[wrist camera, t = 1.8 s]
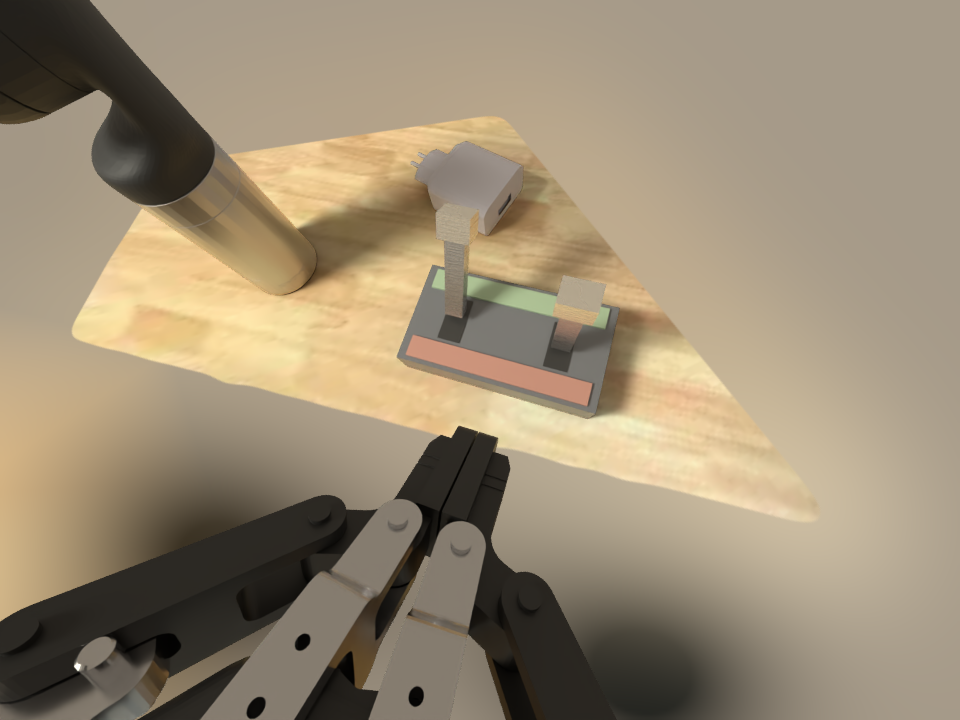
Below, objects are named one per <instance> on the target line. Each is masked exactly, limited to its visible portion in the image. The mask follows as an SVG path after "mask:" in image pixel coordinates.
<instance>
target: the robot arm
mask: <svg viewBox="0 0 960 720" xmlns="http://www.w3.org/2000/svg"><path fill="white" fill-rule="evenodd" d="M96 90H100V91H102V92H103V93H105V94H106V95H107V96H108V97H110V98H111V99H112V106H111V109H110V111H109V113H108V116H107V117H106V119H105V120H104V122H103V124H102V125H101V127H100V129H99V131H98V132H97V134H96V137H95V139H94V142H93V146H92V162H93V166H94V168H95V170H96V172H97V174H98V175H99V176H100V177H101V178H102V179H103V180H104V181H105V182H106V183H107V184H108V185H110V186H111V187H112V188H114V189H115V190H117V191H118V192H119V193H121V194H122V195H124V196H125V197H127V198H128V199H130V200H131V201H133V202H134V203H136V204H137V205H138V206H140V207H141V208H143V209H144V210H146V211H147V212H149V213H150V214H152V215H153V216H154V217H156V218H157V219H159V220H160V221H162V222H164V223H165V224H166V225H168V226H169V227H171V228H172V229H174V230H175V231H177V232H178V233H180V234H181V235H183V236H184V237H185V238H187V239H188V240H190V241H191V242H193V243H194V244H196V245H197V246H199V247H200V248H201V249H203V250H204V251H206V252H207V253H209V254H210V255H212V256H213V257H215V258H216V259H218V260H219V261H220V262H222V263H223V264H225V265H226V266H228V267H229V268H231V269H232V270H234V271H235V272H236V273H238V274H239V275H241V276H242V277H244V278H245V279H247V280H248V281H250V282H251V283H252V284H254V285H255V286H257V287H258V288H260V289H261V290H263V291H264V292H266V293H269V294H273V295H284V294H288V293H291V292H293V291H295V290H297V289H299V288H300V287H302V286H303V285H304V284H305V283H306V282H307V281H308V280H309V279H310V277H311V276H312V274H313V272H314V270H315V267H316V262H317V256H316V252H315V250H314V248H313V246H312V245H311V244H310V243H309V242H308V241H307V239H306V238H305V237H304V236H303V235H302V234H301V233H300V232H299V231H298V230H297V229H296V227H295V226H294V225H293V224H292V223H291V222H290V221H289V220H288V219H287V218H286V217H285V215H284V214H283V213H282V212H281V211H280V210H279V209H278V208H277V207H276V206H275V205H274V204H273V203H272V202H271V200H270V199H269V198H268V197H267V196H266V195H265V194H264V193H263V192H262V191H261V190H260V189H259V188H258V186H257V185H256V184H255V183H254V182H253V181H252V180H251V179H250V178H249V177H248V176H247V175H246V174H245V173H244V171H243V170H242V169H241V168H240V167H239V166H238V165H237V164H236V163H235V162H234V161H233V160H232V159H231V158H230V157H229V156H228V155H227V153H226V152H225V151H224V150H223V149H222V148H221V147H220V146H219V145H218V144H217V143H216V142H215V141H214V140H213V138H212V137H211V136H210V135H209V134H208V133H207V132H206V131H205V130H204V129H203V128H202V127H201V126H200V125H199V124H198V123H197V121H196V120H195V119H194V118H193V117H192V116H191V115H190V114H189V113H188V111H187V110H186V109H185V108H184V107H183V106H182V105H181V104H180V102H179V101H178V100H177V99H176V98H175V97H174V96H173V95H172V93H171V92H170V91H169V90H168V89H167V88H166V87H165V86H164V85H163V84H162V83H161V82H160V80H159V79H158V78H157V77H156V76H155V75H154V74H153V73H152V72H151V71H150V70H149V68H148V67H147V66H146V65H145V64H144V63H143V62H142V61H141V59H140V58H139V57H138V56H137V55H136V54H135V53H134V52H133V50H132V49H131V48H130V47H129V46H128V45H127V43H126V42H125V41H124V40H123V39H122V38H121V37H120V35H119V34H118V33H117V32H116V31H115V30H114V28H113V27H112V26H111V25H110V24H109V23H108V22H107V20H106V19H105V18H104V17H103V16H102V15H101V13H100V12H99V11H98V10H97V9H96V7H95V6H94V5H93V4H92V3H91V2H90V0H0V123H1V124H20V123H26V122H30V121H34V120H37V119H40V118H43V117H45V116H47V115H49V114H51V113H52V112H54V111H56V110H59V109H60V108H62V107H64V106H66V105H68V104H70V103H72V102H74V101H76V100H78V99H80V98H82V97H84V96H86V95H88V94H90V93H92V92H93V91H96ZM497 443H498V438H497V437H494V436H490V435H487V434H484V433H481V432H479V433H478V431H474V430H471V429H468V428H465V427H462V426H458V428H457V429H456V431H455V433H454V435H453V436H452V438H449V437H446V436H443V435H440V436H439V437H437V438H436V439H434V440H433V441H432V442H430V443H429V445H428V447H427V448H426V450H425V452H424V453H423V455H422V456H421V458H420V459H419V461H418V463H417V464H416V466H415V467H414V469H413V471H412V472H411V474H410V475H409V477H408V478H407V480H406V482H405V483H404V485H403V487H402V488H401V490H400V491H399V493H398V494H397V496H396V497H395V499H394V500H391V501H389V502H387V503H385V504H383V505H382V506H381V507H380V508H379V509H376V510H346V507H345V504H344V503H343V502H342V500H341V499H339V498H337V497H335V496H331V495H321V496H318V497H314V498H311V499H309V500H306V501H304V502H301V503H298V504H295V505H293V506H290V507H287V508H285V509H282V510H280V511H277V512H274V513H272V514H269V515H267V516H264V517H261V518H259V519H256V520H253V521H251V522H248V523H245V524H243V525H240V526H238V527H235V528H232V529H230V530H227V531H225V532H222V533H219V534H217V535H214V536H211V537H209V538H206V539H203V540H201V541H198V542H196V543H193V544H190V545H188V546H185V547H183V548H180V549H178V550H175V551H172V552H169V553H167V554H164V555H162V556H159V557H157V558H154V559H151V560H148V561H146V562H143V563H141V564H138V565H135V566H133V567H130V568H128V569H125V570H122V571H119V572H117V573H115V574H112V575H109V576H106V577H104V578H101V579H99V580H96V581H93V582H91V583H88V584H85V585H83V586H80V587H77V588H75V589H72V590H70V591H67V592H65V593H62V594H59V595H57V596H54V597H51V598H49V599H46V600H43V601H41V602H38V603H36V604H33V605H30V606H28V607H26V608H24V609H21V610H19V611H17V612H15V613H13V614H12V615H10V616H8V617H7V618H5V619H4V620H2V621H1V622H0V720H135V719H136V718H137V717H139V716H142V715H143V714H145V713H146V712H147V711H148V710H149V709H150V708H151V707H152V706H153V704H154V703H155V701H156V699H157V697H158V696H159V694H160V693H161V691H162V690H163V688H164V686H165V684H166V681H167V679H168V678H170V677H171V676H173V675H175V674H177V673H179V672H181V671H183V670H185V669H186V668H188V667H190V666H192V665H194V664H196V663H198V662H199V661H201V660H203V659H205V658H207V657H209V656H211V655H213V654H214V653H216V652H218V651H220V650H222V649H224V648H226V647H228V646H229V645H231V644H233V643H235V642H237V641H239V640H241V639H243V638H245V637H246V636H248V635H250V634H252V633H254V632H256V631H258V630H259V629H261V628H263V627H265V626H267V625H269V624H271V623H273V622H274V621H276V620H278V619H280V618H281V619H280V620H279V621H278V623H277V624H276V625H275V626H274V628H273V629H272V630H271V631H270V633H269V634H268V635H267V636H266V638H265V639H264V640H263V641H262V643H261V644H260V645H259V646H258V648H257V649H256V650H255V652H254V653H253V654H252V655H251V656H249V657H246V658H243V659H241V660H239V661H237V662H235V663H233V664H231V665H229V666H227V667H226V668H224V669H222V670H220V671H219V672H217V673H215V674H214V675H212V676H210V677H209V678H207V679H205V680H203V681H202V682H200V683H198V684H197V685H195V686H193V687H192V688H190V689H188V690H187V691H185V692H183V693H182V694H180V695H178V696H177V697H175V698H173V699H172V700H170V701H168V702H166V703H165V704H163V705H162V706H160V707H158V708H156V709H155V710H153V711H151V712H150V713H148V714H146V715H145V716H143V717H141V718H140V719H138V720H450V716H451V711H452V706H453V702H454V697H455V692H456V688H457V683H458V679H459V674H460V669H461V664H462V660H463V655H464V650H465V646H466V641H467V636H468V634H469V635H470V636H471V637H472V638H473V639H474V640H475V641H476V642H477V643H478V644H479V645H480V646H481V647H482V648H483V649H484V650H485V654H486V658H487V662H488V665H489V668H490V671H491V674H492V677H493V680H494V684H495V687H496V690H497V693H498V696H499V699H500V703H501V706H502V708H503V712H504V715H505V719H506V720H616V718H615V716H614V714H613V712H612V710H611V708H610V706H609V704H608V702H607V700H606V698H605V696H604V694H603V692H602V690H601V688H600V686H599V684H598V682H597V680H596V678H595V676H594V674H593V672H592V670H591V668H590V666H589V664H588V662H587V660H586V658H585V656H584V654H583V652H582V650H581V648H580V646H579V644H578V642H577V640H576V638H575V636H574V634H573V632H572V630H571V628H570V626H569V624H568V622H567V620H566V618H565V616H564V614H563V612H562V610H561V608H560V606H559V604H558V602H557V600H556V598H555V596H554V594H553V593H552V590H551V589H550V587H549V586H548V584H547V583H546V582H545V581H544V580H543V579H542V578H540V577H539V576H537V575H535V574H533V573H529V572H518V573H515V572H514V571H513V570H512V569H510V568H509V567H508V566H507V565H505V564H504V563H503V562H502V561H501V560H500V559H499V558H498V556H497V555H496V553H495V552H494V549H493V547H492V543H491V535H492V532H493V528H494V525H495V522H496V518H497V515H498V511H499V508H500V505H501V501H502V498H503V494H504V491H505V487H506V483H507V480H508V476H509V472H510V465H509V460H508V457H507V456H505V455H501V454H498V453H495V451H496V447H497ZM425 555H426V556H428V557H430V560H429V563H428V565H427V568H426V571H425V574H424V577H423V579H422V582H421V585H420V588H419V591H418V593H417V596H416V599H415V602H414V605H413V607H412V609H411V611H410V612H409V613H408V615H407V617H406V619H405V621H404V624H403V626H402V629H401V632H400V634H399V637H398V640H397V642H396V645H395V648H394V651H393V653H392V656H391V659H390V662H389V664H388V668H387V670H386V673H385V675H384V678H383V681H382V684H381V687H380V689H379V691H373V690H362V688H363V686H364V684H365V682H366V680H367V678H368V676H369V674H370V672H371V669H372V667H373V664H374V661H375V659H376V655H377V652H378V650H379V647H380V645H381V643H382V641H383V639H384V637H385V635H386V633H387V632H388V630H389V628H390V626H391V624H392V622H393V620H394V619H395V617H396V615H397V613H398V611H399V609H400V607H401V606H402V604H403V602H404V600H405V598H406V596H407V594H408V593H409V591H410V589H411V587H412V585H413V583H414V581H415V579H416V576H417V572H418V570H419V568H420V565H421V563H422V561H423V559H424V557H425Z"/></svg>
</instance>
